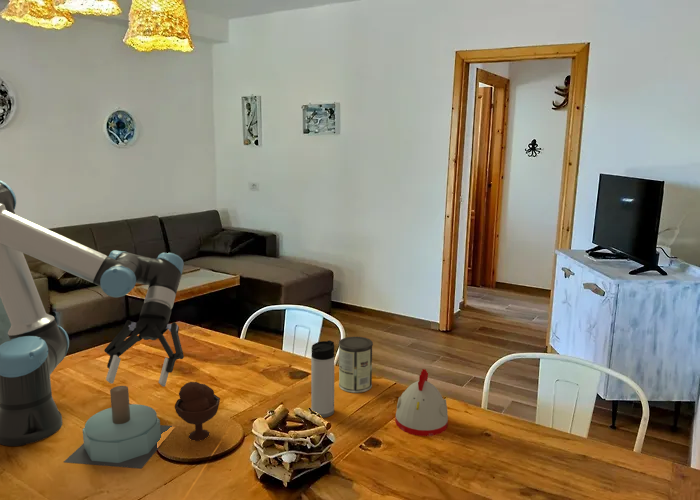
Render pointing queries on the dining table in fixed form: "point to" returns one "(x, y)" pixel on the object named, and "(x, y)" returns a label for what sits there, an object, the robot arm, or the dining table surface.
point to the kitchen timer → (422, 409)
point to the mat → (137, 462)
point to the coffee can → (355, 364)
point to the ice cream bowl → (197, 407)
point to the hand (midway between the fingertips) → (135, 383)
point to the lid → (121, 430)
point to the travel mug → (322, 378)
